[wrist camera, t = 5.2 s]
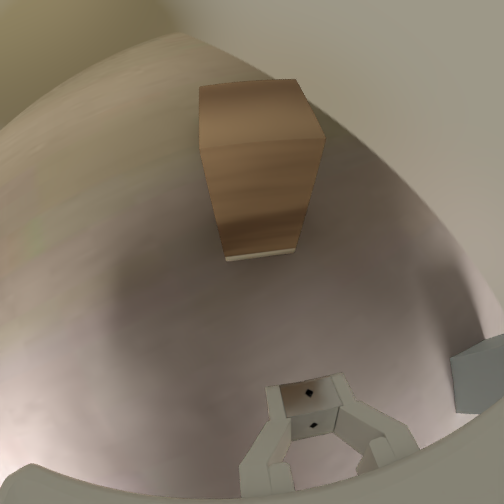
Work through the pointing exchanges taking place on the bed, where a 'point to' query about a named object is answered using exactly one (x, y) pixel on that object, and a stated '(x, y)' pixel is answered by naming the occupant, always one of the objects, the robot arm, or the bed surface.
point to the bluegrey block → (479, 376)
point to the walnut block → (259, 163)
